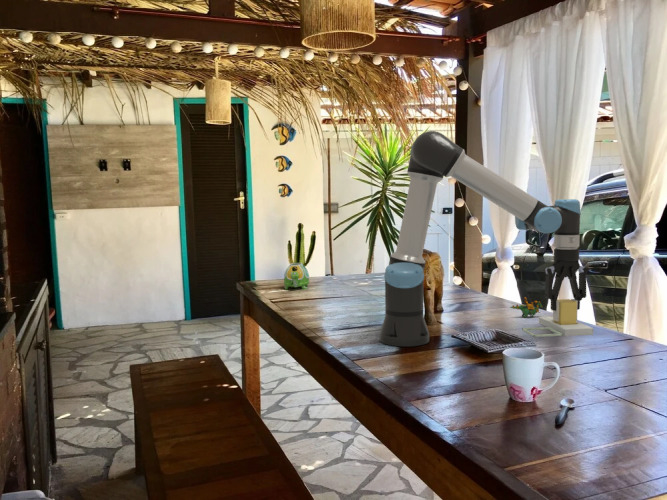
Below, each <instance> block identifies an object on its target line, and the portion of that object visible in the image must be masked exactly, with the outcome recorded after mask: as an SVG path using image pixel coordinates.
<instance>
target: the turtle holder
mask: <svg viewBox="0 0 667 500" xmlns="http://www.w3.org/2000/svg"><path fill="white" fill-rule="evenodd" d="M308 271H309V270H308V269H307V268H306V266H305V265H304V264H303V263H302V262H292V263H289V265H288V266H287V268H286V269H285V271H284V275H283V276H284V277H283V285H284V287H283V288H285V289H284V290H288V289H289V288H298V287H301V289H302V290H307V289H309V288H308V287H307V286H309V284H310V275H309V272H308Z"/></svg>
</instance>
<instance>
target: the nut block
mask: <svg viewBox="0 0 667 500" xmlns="http://www.w3.org/2000/svg"><path fill="white" fill-rule="evenodd" d="M557 300H558V301H560V302H559V321H555V320H554V322H555V323H557V324H559V325H571V324H576V314H577V315H578V310H577V302H575V301H573V300H571V298H570V299H569V298H567V299H565V298H563V299H562V298H561V299H557Z"/></svg>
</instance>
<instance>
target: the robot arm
mask: <svg viewBox="0 0 667 500" xmlns="http://www.w3.org/2000/svg"><path fill="white" fill-rule="evenodd" d="M409 153H410V156H409V161H408V166H407V171H406V174H407V175H408V177H409V178H410V180H409V186H408V190H407V195H406V200H405V204H404V211H403V216H402V219H401V220H402V221H401V226H400V230H399V235H398V240H397V246H396V250H395V251H394V252H392V253H391V254H390V256H389V262H388V265H387V266H386V268H385V270H384V300H385V301H384V303H385V304H384V308H385V311H384V315H385V316H384V319H383V322H382V326H381V327H380V328H381V329H380V332H379V341H380V343H383V344H385V345H389V346H395V347H418V346H423V345H426V344H428V343H429V342H430V332H429V328H428V326H427V323H426V320H425V317H424V279H425V273H424V271H425V266H426V260H425V259H424V257H423V253H424V248H425V245H426V244H425V243H426V238H427V234H428V229H429V224H430V220H431V214H432V210H433V204H434V200H435V196H436V190H437V185H438V183H439V182H441V181H443V179H444V177H445V178H453V179H455V180H456V181H458V182H459V183H461V184H463V185H464V186H466V187H467V188H469V189H470V190H472V191H474V192H476V194H479V195H481V196H482V197H483V198H485V199H487V200H488V201H490V202H492V203H493V204H495V205H496V206H498V207H499V208H500V209H503V211H506V212H508V213H509V214H511V215H512V216H514V224H515V225H514V226H515V227H516V229H517V230H521V231H522V230H523V231H531V230H532V231H536V232H540V233H542V234H551V233H553V246H554V247H555V248H554V249H553V263H552V265H551V266H548V267H544V269H543V270H544V273H545V285H544V286H545V287H544V298H545V299H548V300H550V310H551V311H552V316H553V320H555V321H559V302H560V301H558V300H559V299H558V298H559V295H560V291H561V288H562V283H563V281H564V279H565V278H567V279H568V280H569V281H568V282H569V284H570V285H569V286H570V289H571V292H572V296H573V298H570V300H573V301H575V302H577V311H580V308H581V301H582V300H583V299H584V298H587V273H588V271H589V268H588V267H587V266H582V265H580V263H579V262H580V249H579V247H580V240H581V239H580V237H581V235H580V231H581V229H580V228H581V227H580V226H581V216H582V215H581V202H580V200H578V199H571V198H570V199H569V198H568V199H567V198H564V199H559V198H558V199H556V200H554V204H553V205H547V204H545V203H543V202H542V201H540V200H538V199H537V198H535V197H534V196H532V195H531V194H529V193H527V192H526V191H524V190H523V189H521V188H520V187H518V186H516V185H515V184H513V183H511V182H510V181H508V180H507V179H506V178H503V177H502V176H501V175H498V174H497V173H495V172H494V171H492V170H491V169H489V168H487V167H486V166H485V165H482V164H481V163H480V162H478V161H476V160H475V159H473V158H471V157H470V156H468V155H467V154H466V151H465V149H464V148H462V147H460V145H458V144H456V143H455V142H454V141H453V140H451V139H450V138H448V137H447V136H446V135H444V134H443V133H441V132H439V131H435V130H428V131H424V132H422V133H420V134H419V135H418V136H417V137H416V139H415V140H414V142H413V143H412V146H411V148H410V151H409ZM554 272H555V276H554V277H553V275H554ZM577 272H578V277H577ZM554 278H555V279H554ZM553 279H554V281H553ZM577 280H578V281H577ZM576 321H577V322H578V313H577V314H576Z"/></svg>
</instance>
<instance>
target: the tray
mask: <svg viewBox="0 0 667 500" xmlns="http://www.w3.org/2000/svg"><path fill="white" fill-rule="evenodd" d="M521 330H522V331H523V332H525V333H527V334H528V335H530V336H532V337H533V338H537V337H538V338H540V337H541V338H542V337H563V336H564V335H563V334H562V333H560V332H558V331H556V330H554V329H552V328H550V327H546V326H545V327H524V328H523V327H522V328H521ZM542 330H544V331H545V330H548V331H550V332H552V333H543V334H535V333H533V332H531V331H542Z"/></svg>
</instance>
